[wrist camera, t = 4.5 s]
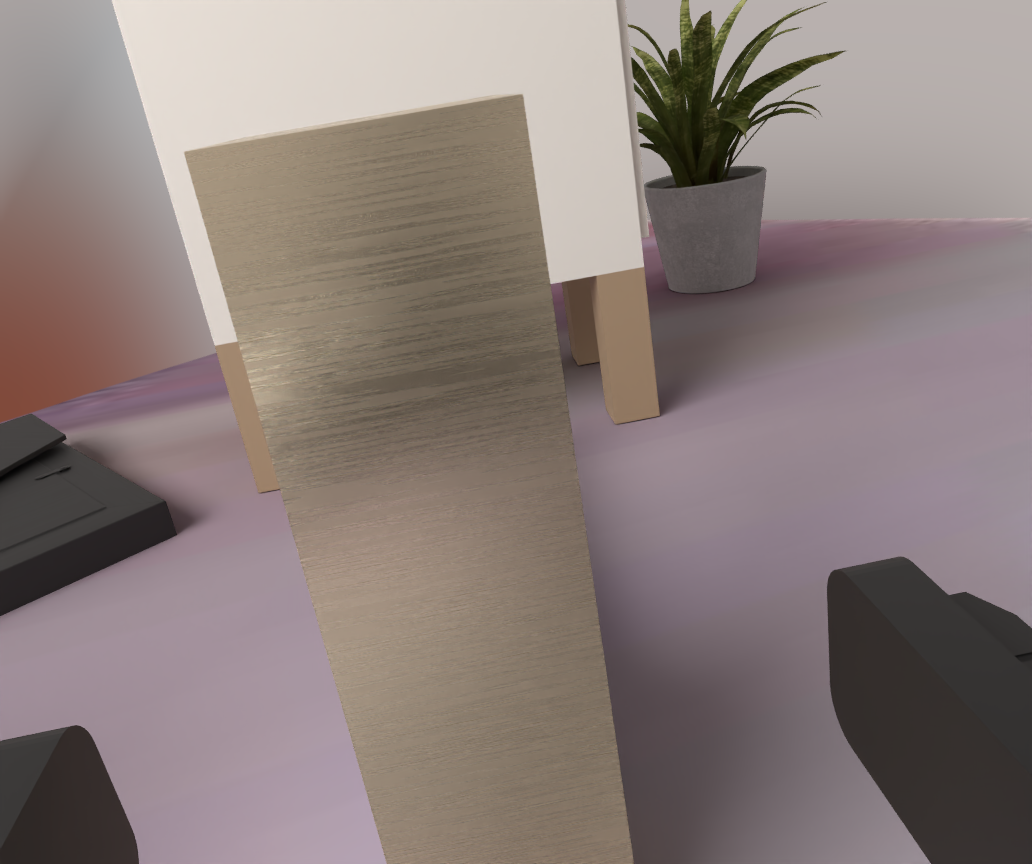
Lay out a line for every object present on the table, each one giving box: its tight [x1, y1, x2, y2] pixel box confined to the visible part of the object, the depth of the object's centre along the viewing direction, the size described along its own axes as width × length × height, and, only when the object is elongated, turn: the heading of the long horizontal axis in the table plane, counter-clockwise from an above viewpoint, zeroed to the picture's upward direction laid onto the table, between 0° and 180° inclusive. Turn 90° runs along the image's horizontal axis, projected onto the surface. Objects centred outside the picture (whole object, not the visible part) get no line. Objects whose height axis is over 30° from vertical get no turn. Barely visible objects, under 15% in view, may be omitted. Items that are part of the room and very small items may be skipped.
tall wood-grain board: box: [184, 94, 634, 864], centre depth 21 cm, size 4×20×13 cm, turn 6°
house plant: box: [628, 0, 844, 293], centre depth 49 cm, size 14×14×16 cm
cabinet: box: [112, 0, 660, 493], centre depth 35 cm, size 18×11×21 cm, turn 96°
